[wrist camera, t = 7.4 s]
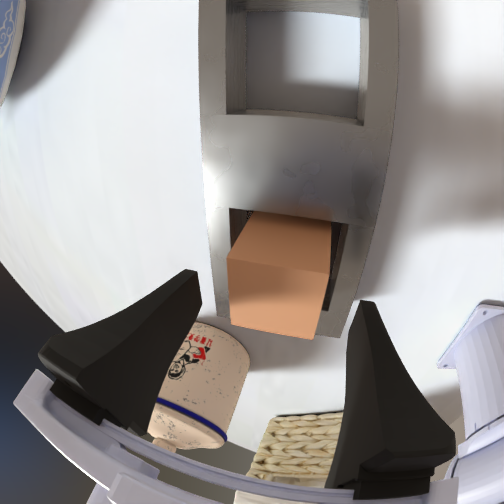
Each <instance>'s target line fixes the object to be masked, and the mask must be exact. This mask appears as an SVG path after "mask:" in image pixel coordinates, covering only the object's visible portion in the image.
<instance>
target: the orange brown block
mask: <svg viewBox="0 0 504 504" xmlns="http://www.w3.org/2000/svg"><path fill="white" fill-rule="evenodd" d="M330 255H331V221H326V220H319V219H313V218H306V217H299V216H291V215H284V214H276V213H269V212H261V211H253V213H252V215H251V216H250V218H249V220H248V221H247V223H246V225H245V227H244V228H243V230H242V232H241V233H240V235H239V237H238V238H237V240H236V242H235V244H234V245H233V247H232V249H231V250H230V252H229V254H228V256H227V257H226V261H227V276H228V291H229V305H230V318H231V325H236V326H240V327H245V328H250V329H255V330H260V331H265V332H270V333H275V334H281V335H286V336H292V337H298V338H304V339H310V340H313V338H314V335H315V331H316V327H317V323H318V320H319V316H320V312H321V308H322V304H323V300H324V296H325V292H326V287H327V283H328V279H329V274H330Z"/></svg>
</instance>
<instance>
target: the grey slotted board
mask: <svg viewBox="0 0 504 504" xmlns="http://www.w3.org/2000/svg"><path fill="white" fill-rule="evenodd" d="M260 11H301V12H318V13H329V14H338V15H346V16H353V17H359V18H360V75H359V93H358V107H357V119H353V118H347V117H340V116H333V115H325V114H317V113H308V112H297V111H283V110H265V109H246V12H260ZM198 51H199V100H200V125H201V145H202V162H203V177H204V191H205V204H206V216H207V227H208V238H209V248H210V258H211V268H212V277H213V286H214V294H215V303H216V311H217V316H221V317H226V318H230V305H229V291H228V276H227V261H226V257H227V256H228V254H229V252H230V250H231V249H232V247H233V245H234V244H235V242H236V240H237V238H238V237H239V235H240V233H241V232H242V230H243V228H244V227H245V225H246V223H247V210H253V211H261V212H269V213H276V214H284V215H291V216H299V217H306V218H313V219H319V220H326V221H333V222H339V223H342V226H341V231H340V237H339V242H338V247H337V251H336V256H335V261H334V265H333V270H332V274H331V278H329V279H328V283H327V287H326V292H325V296H324V300H323V304H322V308H321V312H320V316H319V320H318V323H317V327H316V331H315V334H316V335H322V336H329V337H336V338H340V336H341V333H342V331H343V328H344V325H345V323H346V320H347V317H348V314H349V311H350V309H351V306H352V303H353V300H354V297H355V294H356V291H357V288H358V284H359V281H360V278H361V275H362V271H363V268H364V265H365V261H366V258H367V254H368V251H369V247H370V243H371V239H372V235H373V232H374V228H375V223H376V219H377V215H378V211H379V206H380V202H381V197H382V192H383V187H384V182H385V177H386V171H387V166H388V160H389V153H390V147H391V140H392V133H393V125H394V116H395V106H396V95H397V81H398V57H399V27H398V5H397V0H199V29H198ZM230 319H231V318H230Z"/></svg>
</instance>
